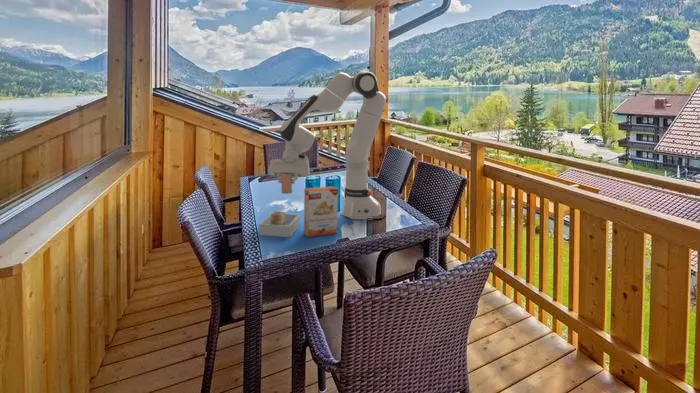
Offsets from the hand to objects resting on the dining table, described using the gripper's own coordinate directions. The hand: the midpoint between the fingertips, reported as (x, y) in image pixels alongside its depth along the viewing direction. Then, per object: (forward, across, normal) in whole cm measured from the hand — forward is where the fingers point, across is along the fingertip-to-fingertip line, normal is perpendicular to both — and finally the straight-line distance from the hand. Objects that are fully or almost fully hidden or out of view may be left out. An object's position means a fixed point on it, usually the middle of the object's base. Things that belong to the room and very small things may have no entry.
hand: (286, 182), depth 193 cm
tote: (+23, +1, +4) cm, 23 cm away
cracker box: (+25, +20, +3) cm, 32 cm away
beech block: (+25, +1, 0) cm, 25 cm away
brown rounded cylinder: (+3, 0, +4) cm, 5 cm away
